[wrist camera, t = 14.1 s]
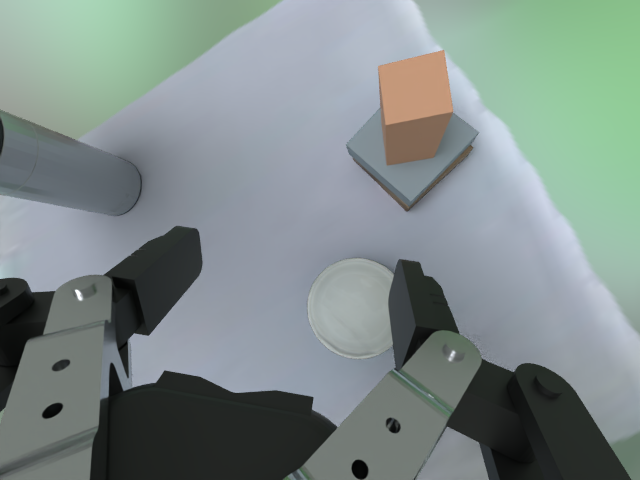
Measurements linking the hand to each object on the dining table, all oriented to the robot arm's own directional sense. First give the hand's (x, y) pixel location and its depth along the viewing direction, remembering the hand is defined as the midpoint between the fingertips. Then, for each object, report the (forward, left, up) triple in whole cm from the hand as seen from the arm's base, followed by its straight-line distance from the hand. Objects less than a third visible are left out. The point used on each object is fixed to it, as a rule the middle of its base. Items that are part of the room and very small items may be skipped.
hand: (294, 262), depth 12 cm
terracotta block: (-6, +14, -22) cm, 26 cm away
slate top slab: (-6, +14, -25) cm, 29 cm away
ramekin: (+4, -3, -27) cm, 28 cm away
